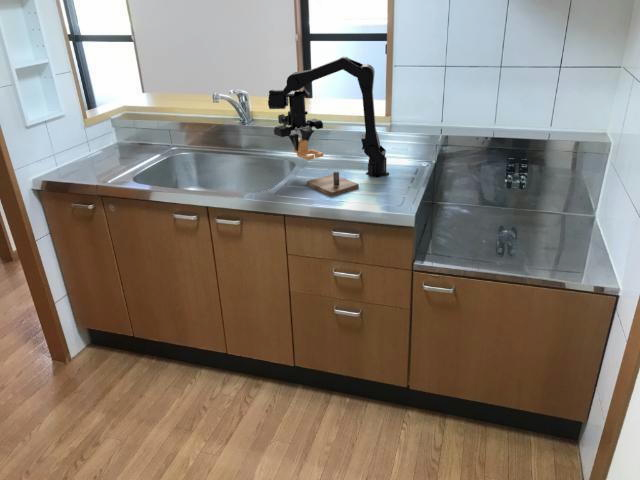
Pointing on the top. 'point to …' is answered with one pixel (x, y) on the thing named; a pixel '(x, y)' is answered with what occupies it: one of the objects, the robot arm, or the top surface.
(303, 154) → the ring link
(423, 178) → the top surface
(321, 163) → the top surface
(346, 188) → the post stand
